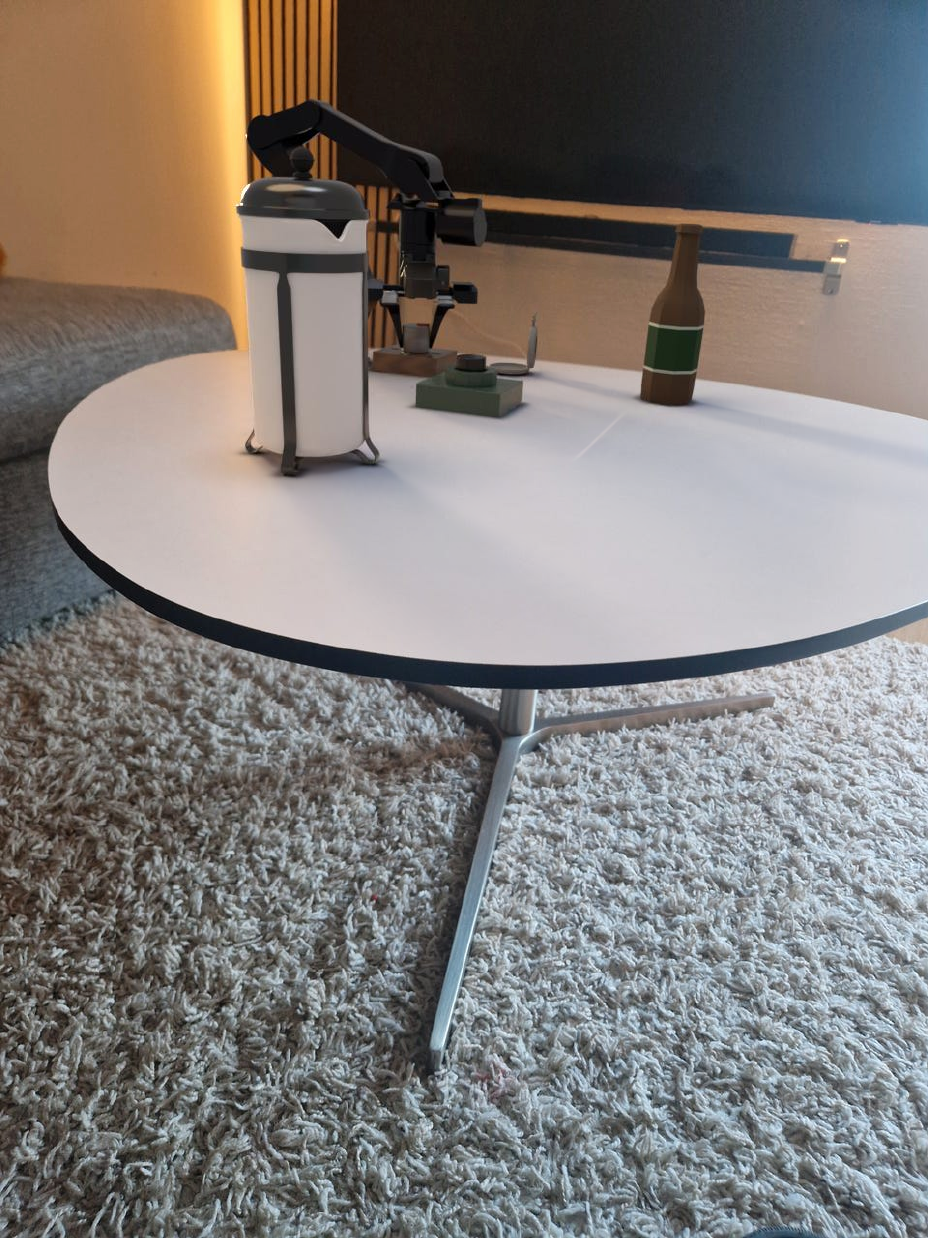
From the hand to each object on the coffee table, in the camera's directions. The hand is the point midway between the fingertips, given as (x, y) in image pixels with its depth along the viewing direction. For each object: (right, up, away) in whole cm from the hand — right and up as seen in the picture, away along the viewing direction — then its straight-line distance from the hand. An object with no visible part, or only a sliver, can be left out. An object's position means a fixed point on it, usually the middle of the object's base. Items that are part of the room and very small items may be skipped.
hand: (415, 347), depth 145 cm
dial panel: (0, -3, +2) cm, 4 cm away
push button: (+9, -10, -23) cm, 26 cm away
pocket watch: (+16, -4, +3) cm, 17 cm away
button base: (+9, -14, -21) cm, 26 cm away
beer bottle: (+38, -12, -12) cm, 41 cm away
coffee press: (-10, -26, -46) cm, 54 cm away
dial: (0, 0, 0) cm, 0 cm away
